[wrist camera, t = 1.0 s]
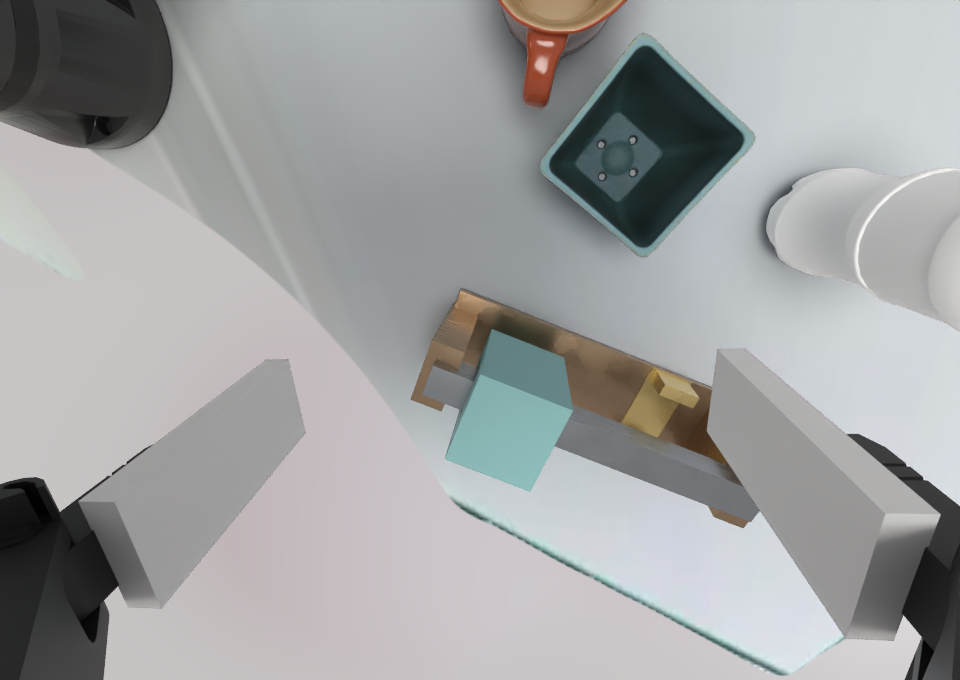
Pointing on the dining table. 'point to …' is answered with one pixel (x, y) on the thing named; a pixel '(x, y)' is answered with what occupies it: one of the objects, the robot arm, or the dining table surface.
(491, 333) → the block
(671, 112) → the flower pot
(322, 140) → the dining table surface
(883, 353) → the dining table surface
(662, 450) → the rail
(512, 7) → the mug
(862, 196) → the water bottle
